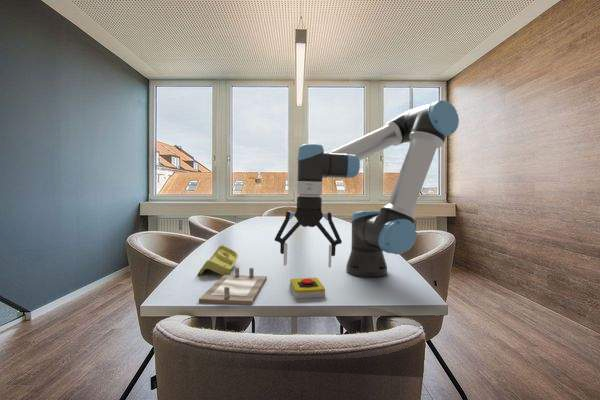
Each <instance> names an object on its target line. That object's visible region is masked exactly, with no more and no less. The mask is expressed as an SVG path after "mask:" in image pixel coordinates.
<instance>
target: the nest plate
mask: <svg viewBox="0 0 600 400" xmlns="http://www.w3.org/2000/svg"><path fill="white" fill-rule="evenodd" d="M248 270H249V272H248V273H249V275H245V274H244V275H242V274H241V275H240V267H238V266H237V267H234V274H233V275H232V274H228V275H221V277H220V278H219V279H218V280H217V281H216V282H215V283H214V284H213V285H212V286H210V288H209V289H207V291H205V292H204V293H203V294H202V295H201V296H200V297H198V298H199V299H198V303H200V304H201V303H203V304H205V303H206V304H225V305H226V304H227V305H228V304H230V305H231V304H232V305H233V304H234V305H253V304H254V302H255V300H256V298H257V297H258V295H259V293H260V292H261V289H262V288H263V286H264V285H265V283H266V281H267V278H268V276H266V275H255V274H254V272H255V271H254V267H249V269H248Z"/></svg>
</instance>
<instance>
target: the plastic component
mask: <svg viewBox="0 0 600 400" xmlns="http://www.w3.org/2000/svg"><path fill="white" fill-rule="evenodd" d="M238 259H239V254H238V252H236V251H235V250H233V249H232V248H229V247H228V246H225V245H224V244H223V245H222V244H221V245H219V246H218V248H217V249H216V250H215V252H214V253H213V254H212V256H211V257H210V259H207V260H206V261H205V262H204V264H203V266H202V267H201V269H199V271H198V273H197V275H200V276H201V275H203V273H204V272H205V271H206V270H210V271H213V272H215V274H216V273H217V274H219V275H221V276H224V275H230V272H231V271H232V269H233V268H234V266H235V263H236V262H237V260H238Z"/></svg>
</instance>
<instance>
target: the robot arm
mask: <svg viewBox="0 0 600 400" xmlns="http://www.w3.org/2000/svg"><path fill="white" fill-rule="evenodd" d="M459 120H460V118H459V114H458V111H457V109H456V108H455V106H454V105H453V104H452V103H451V102H449V101H447V100H438V101H436V100H435V101H432V102H430V103H429V104H428V103H427V104H425V105H420V106H418V107H414V108H411V109H409V110H407V111H405V112H404V113H401V114H400V115H398V116H396V117H395V118H393V119H391V120H389V121H387V122H385V123H384V125H383V126H382V127H380V128H378V129H376V130H374V131H372V132H370V133H367V134H366V135H363V136H362V137H359V138H356V139H355V140H353V141H351V142H349V143H347V144H346V143H345V144H344V145H342V146H340V147H338V148H336V149H333V150H331V151H330V152H326V151H325V150H324V146H323V145H322V144H317V143H304V144H301V145H299V147H298V155H297V183H296V194H297V195H298V196H297V197H296V210H295V212H293V211H290V210H288V211H286V212H285V219H284V220H283V222H282V225H281V226H280V228H279V230H278V231H277V234H276V235H275V237H274V241H275V242H278V243H279V244H280V246H279V248H280V251H279V252H280V254H281V255H283V266H287V264H288V242H287V240H288V239H289V238H290V237H291V236H292V235H293V234H294V232H296V230H297V229H298V228H299V227H300V226H301V227H303V228H307V227H309V228H314V227H317V228H318V230H319V231H320V232H321V234H323V236H324V237H325V238H326V239H327V241H328V242H329V244H328V260H327V261H328V262H327V263H328V265H327V266H328V268H332V257H335V256H336V248H337V245H341V244H342V242H343V241H342V238H341V237H340V234H339V231H338V230H337V228H336V225H335V224H334V221H333V217H332V216H333V215H332V213H331V212H330V211H329V212H325V213H323V211H322V204H323V203H322V201H323V199H322V197H321V196H322V195H323V179H327V178H331V179H333V178H334V179H335V178H337V179H338V178H345V179H350V178H351V179H353V178H356V177H357V176H358V174H359V172H360V169H361V168H360V167H361V161H363V160H365V159H366V158H368V157H371V156H373V155H375V154H377V153H379V152H381V151H383V150H385V149H387V148H389V147H391V146H395V147H396V146H397V147H398V146H399V145H401V144H404V143H407V142H408V143H409V142H410V145H409V148H408V150H407V152H406V155H405V158H404V161H403V163H402V165H401V167H400V169H399V170H400V171H399V172H398V176H397V178H396V181H395V183H394V186H393V189H392V191H391V194H390V197H389V199H388V202H387V204H385V205H383V206H381V207H380V209H379V210H370V211H369V210H367V211H366V210H364V211H355V212H353V213H352V214H351V215H352V216H351V249H350V254H349V257H348V260H347V262H346V270H345V271H346V272H347V274H351V276H356V277H357V276H358V277H360V278H361V277H362V278H380V277H383V276H386V275H387V274H388V266H387V265H388V264H387V262H386V259H385V255H384V253H387V254H393V255H401V254H404V253H407V252H408V251H410V249H411V248H412V247H413V246H414V245H415V242H416V239H417V236H418V235H417V234H418V233H417V231H416V230H417V228H416V226H415V221H416V218H415V216H414V214H413V212H414V210H415V207H416V204H417V202H418V199H419V197H420V194H421V192H422V189H423V186H424V183H425V181H426V178H427V175H428V172H429V169H430V167H431V165H432V161H433V159H434V156H435V154H436V151H437V149H439V148H441V147H443V145H444V143H445V141H446V138H447V136H451V135H452V134H454V133H455V132H456V130H458V127H459V122H460V121H459ZM294 217H295V219H296V220H297V222H296V223H295V224H294V225H293V226H292V227H291V229H290V230H288V231H287V233H286V234H284V231H285V229H286V227H287V226H288V223H289V221H290V220H292V219H293V218H294ZM323 218H324V219H325V221H328V225H329V227H330V229H331V231H332V233H333V235H334V237H335V239H334V238H333V236H332V235H331V234H330V233H329V232H328V231H327V229H326V228H325V227H324V226H323V224H322V223H321V220H322V219H323ZM283 234H284V236H283V237H281V236H282V235H283Z"/></svg>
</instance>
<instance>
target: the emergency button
mask: <svg viewBox="0 0 600 400" xmlns="http://www.w3.org/2000/svg"><path fill="white" fill-rule="evenodd" d="M289 281H290V282H289V285H288V286H289V289H290V292H291V294H292V296H293V298H294V301H295V302H313V301H314V302H315V301H317V302H318V301H326V300H328V299H327V296H326V288H325V286H324V285H323V284H322V282H321V281H320V280H319V278H317V277H299V278H290V280H289Z"/></svg>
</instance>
